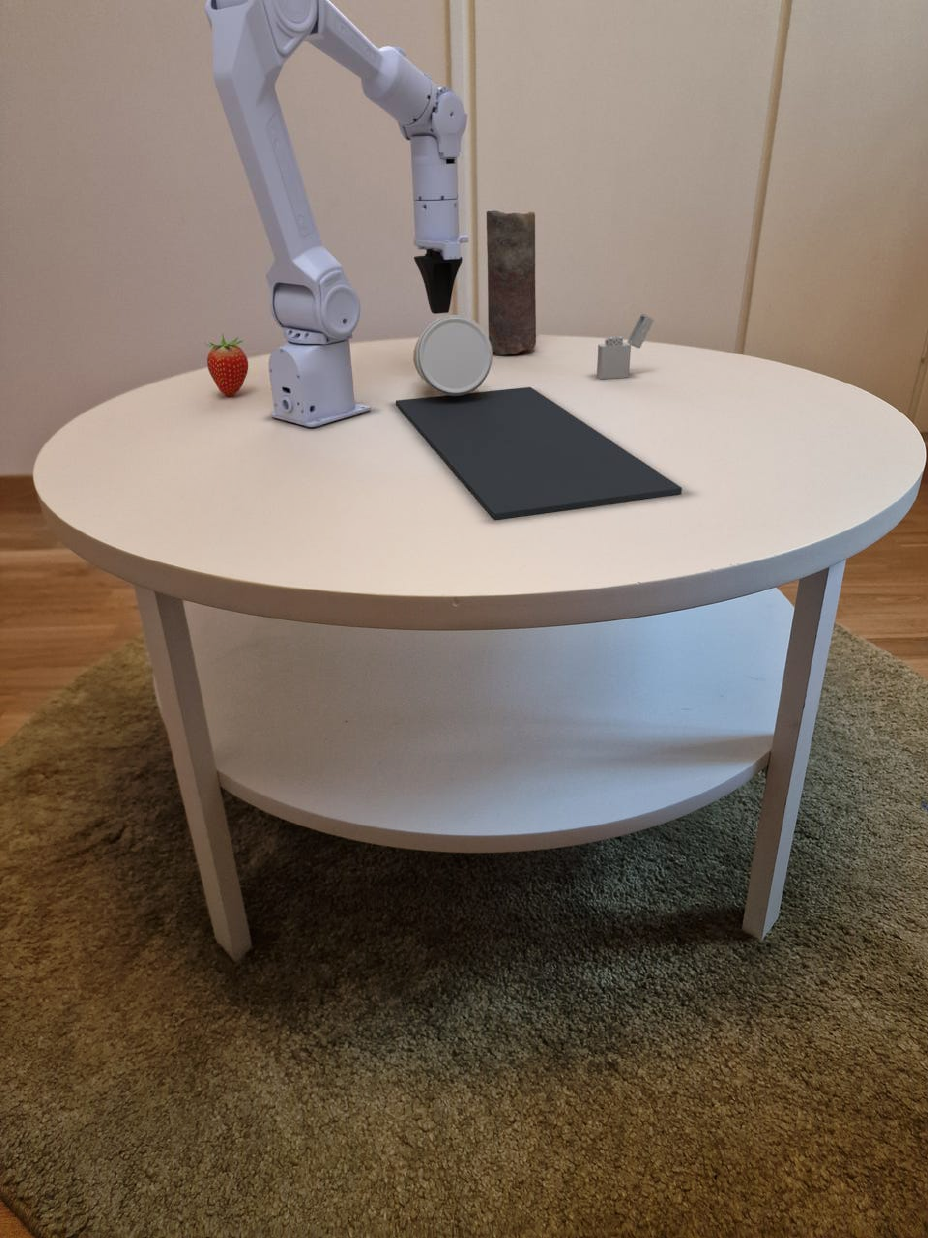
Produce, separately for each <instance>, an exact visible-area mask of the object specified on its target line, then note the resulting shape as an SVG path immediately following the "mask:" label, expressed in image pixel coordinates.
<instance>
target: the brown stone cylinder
mask: <svg viewBox="0 0 928 1238" xmlns="http://www.w3.org/2000/svg"><path fill="white" fill-rule="evenodd" d="M486 245H487V246H486V247H487V251H486V252H487V298H488V299H487V308H488V309H487V311H488V313H487V315H488V320H487V321H488V338H489V340H490V343H491V346H492V352H493V353H494V354H495V355H498V356H506V355H507V356H508V355H512V354H513V355H517V354H519V353H521V352H528V351H531V350H533V349H534V348H535V347H536V345H537V309H536V307H537V304H536V303H537V302H536V301H537V300H536V213H535V211H529V212H526V213H520V212H510V213H507V212H503V211H499V210H486Z"/></svg>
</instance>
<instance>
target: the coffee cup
mask: <svg viewBox="0 0 928 1238" xmlns="http://www.w3.org/2000/svg"><path fill="white" fill-rule="evenodd" d="M412 355H413V356H412V357H413V364H414V368H415V371H416V372H417V375H418V376H419V377H420V378H421V379H422V380H423V381H424V382H425V383H426V384H427V386H429V387H430V388H431V389H432V390H434V391H435V392H437V393H439V394H442V395H444V396H445V395H449V396H460V395H465V394H467V393H473V392H474V391H475V390H477V389H478V388H479V387H480V386H481V385H483V384H484V382H485V380H486V379H487V378H488V376H489V373H490V372H491V368H492V365H493V350H492V346H491V343H490V340H489V335H488V334H487V332H486V331H485V330H484V328H483V327H482V326H481V325H480V324H479V323H478V322H477V321H475V320H473V319H472V318H469V317H467V316H464V315H457V314H449V315H445V316H442V317H439V318H437V319H435V320H433V321H432V322H431V323H430V324H428V325H427V327H426V328H425V329H424V330H423V331H422V333H421V335H420V336H419V337H418V339H417V341H416V342H415V345H414V348H413V354H412Z"/></svg>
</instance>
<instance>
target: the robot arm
mask: <svg viewBox="0 0 928 1238" xmlns="http://www.w3.org/2000/svg"><path fill="white" fill-rule="evenodd" d="M203 8H204V12H205V16H206V18H207V22H208V25H209V27H210V30H211V34H212V35H211V38H212V39H211V40H212V42H211V44H212V47H211V48H212V76H213V81H214V84H215V85H214V86H215V87H216V91H217V92H218V94H217V95H218V96H219V99H220V103H221V105H222V108H223V111H224V113H225V117H226V120H227V122H228V126H229V128H230V129H229V130H230V132H231V134H232V137H233V140H234V144H235V146H236V149H237V152H238V155H239V157H240V160H241V161H240V162H241V164H242V167H243V169H244V173H245V176H246V178H247V181H248V184H249V188H250V190H251V194H252V196H253V199H254V202H255V204H256V208H257V211H258V213H259V216H260V219H261V222H262V225H263V228H264V231H265V234H266V237H267V240H268V243H269V246H270V250H271V252H272V254H273V258H274V260H273V262H272V264H271V265H270V267H269V268H268V269H267V272H266V273H265V279H266V282H267V284H268V287H269V309H270V313H271V315H272V318H273V321H274V322H275V323H276V324H277V325H278V326H279V327H280V328H282V330H283V337H284V338H285V339H286V340H287V341H286V342H285V344H283V345H281V346H279V347H277V348H275V349H273V350H272V351H271V353H270V355H269V358H268V373H269V380H270V387H271V395H272V402H273V403H272V404H273V410H274V411H273V412H271V413H270V415H271V417H272V418H275V419H279V420H282V421H286V422H290V423H293V424H297V425H300V426H304V427H308V428H316V427H319V426H323V425H325V424H329V423H332V422H335V421H340V420H343V419H346V418H350V417H353V416H356V415H359V414H363V413H366V412H369V411H371V406H370V405H366V404H362V403H357V402H355V390H354V379H353V369H352V358H351V347H350V340H351V339H353V332H354V331H355V329H357V326H358V324H359V320H360V316H361V301H360V298H359V295H358V293H357V291H356V290H355V288H354V287H353V285H351V283H350V282H349V280H348V278H347V276H346V273H345V270H344V266H343V265H342V263H340V262H339V261H338V260H337V258H335V257H334V256H333V255H332V254H331V253H330V252H329V251H328V250H327V249H326V248H325V247H324V245H323V243H322V239H321V236H320V232H319V230H318V226H317V223H316V220H315V217H314V213H313V210H312V209H313V208H312V206H311V204H310V203H311V202H310V200H309V197H308V193H307V190H306V187H305V183H304V180H303V176H302V173H301V170H300V167H299V164H298V160H297V158H296V154H295V150H294V146H293V144H292V141H291V137H290V134H289V129H288V127H287V124H286V121H285V117H284V114H283V111H282V108H281V104H280V101H279V98H278V95H277V91H276V83H277V81H278V79H279V76H280V74H281V72H282V70H283V67H284V65H285V63H286V62H287V61H288V60H289V59H290V58H291V56H292V55H293V54H294V53H295V52H296V51H297V49H298V48H299V47H300V46H301V44H303V43H304V42H307V43H309V44H310V45H312V46H313V47H315V48H316V49H318V50H319V51H320V52H322V53H323V54H325V55H326V56H328V58H330V59H332V60H334V61H335V62H336V63H338V64H339V65H341V66H342V67H343V68H345V69H347V70H348V71H350V72H351V73H352V74H353V75H355V76H357V77H358V78H359V79H360V85H361V89H362V92H363V94H364V96H365V97H366V98H367V99H369V100H370V101H371V102H372V103H374V104H375V105H376V106H377V107H379V108H380V109H381V110H383V112H386V113H387V114H388V115H389V116H390V117H391V118H393V119H394V120H395V121H396V122H397V124H398V127H399V131H400V133H401V135H402V137H403V138H404V139H405V140H406V141H409V142H410V143H409V144H410V145H409V146H410V163H411V182H412V184H411V185H412V199H413V200H412V202H413V203H412V204H413V221H414V222H413V224H414V225H413V226H414V237H413V245H414V246H415V247H416V249H417V250H425V251H426V253H424V255H415V256H414V257H413V260H414V263H415V265H416V266H417V268H418V271H419V273H420V275H421V278H422V281H423V283H424V287H425V291H426V292H425V293H426V296H427V300H428V305H429V308H430V311H431V313H432V314H434V315H435V314H436V315H438V314H449V312H450V309H451V304H452V296H453V291H454V285H455V281H456V278H457V275H458V273H459V270H460V267H462V264H463V260H464V259H463V256H462V255H461V254H462V253H461V244H462V243H469V236H468V235H460V211H459V210H460V209H459V206H460V205H459V172H458V171H459V170H458V157H460V153H461V152H462V138H463V135H464V133H465V131H466V127H467V122H468V114H467V113H465V107H464V104H463V101H462V99H461V98H460V96H459V95H458V94H457V93H456V92H455V91H454V89H452V88H451V87H448V86H440V87H438V86H437V84H436V83H435V82H434V81H433V78H432V76H431V75H430V74H428V73H427V72H424V73H423V72H422V71H421V70H420V69H419V68H418V67H416V66H415V64H413V63H412V62H411V61H410V60H409V59H407V57H406V56H407V52H406V51H405V50H404V49H403V48H402V47H401V46H391V45H390V46H389V45H386V46H381V47H380V48H378V47H377V46H376V45H375V44H374V43H373V42H372V41H371V40H370V39H369V38H368V37H367V36H366V35H365V34H364V33H363V32H361V30H360V29H359V28H358V27H357V26H355V24H354V23H352V22H351V20H350V19H349V18H347V16H346V15H344V14H343V12H342V11H341V10H340V9H338V8H337V7H336V6H335V5H334V4H333V2H331V0H206V2H205V5H204V6H203Z"/></svg>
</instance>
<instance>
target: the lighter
mask: <svg viewBox="0 0 928 1238" xmlns="http://www.w3.org/2000/svg"><path fill="white" fill-rule="evenodd" d="M654 321H655V319H654V318H653V317H650V316H648V315H647V314H644V313H641V314H640V315H639V318H638V320H637V322H636V323H635V326H634V327H633V330H632V331H631V334H630V336H629V338H628V340H627V342H624V337H623V336H619V335H618V336H608V337H607V338H605V340H604V343H600V344H598V346H597V364H596V378H597V379H598V380H610V379H626V378H629V377H630V368H631V353H632V347H635V348H636V349H640V348H641V347H642V345H643V343H644V342H645V339H646V338H647V335H648V333H649V332H650V329H651V327H652V325H653V323H654Z"/></svg>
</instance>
